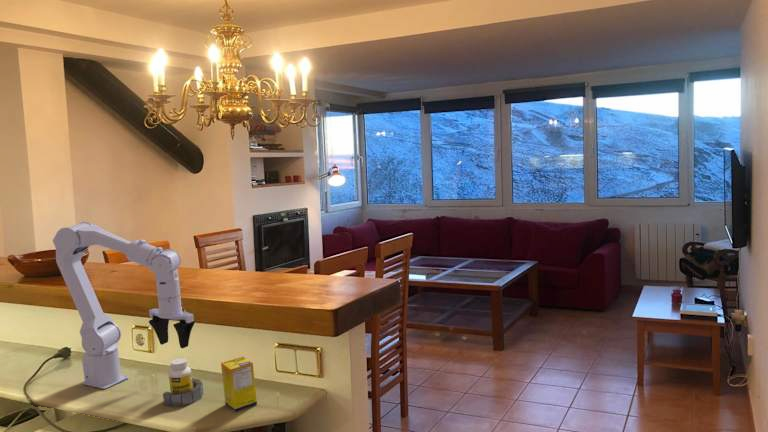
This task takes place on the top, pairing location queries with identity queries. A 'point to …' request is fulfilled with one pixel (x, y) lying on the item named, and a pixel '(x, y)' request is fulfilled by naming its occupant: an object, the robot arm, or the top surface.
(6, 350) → the top surface
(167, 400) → the steel horseshoe collar
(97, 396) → the top surface
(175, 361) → the supplement bottle
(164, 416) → the top surface
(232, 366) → the supplement box
